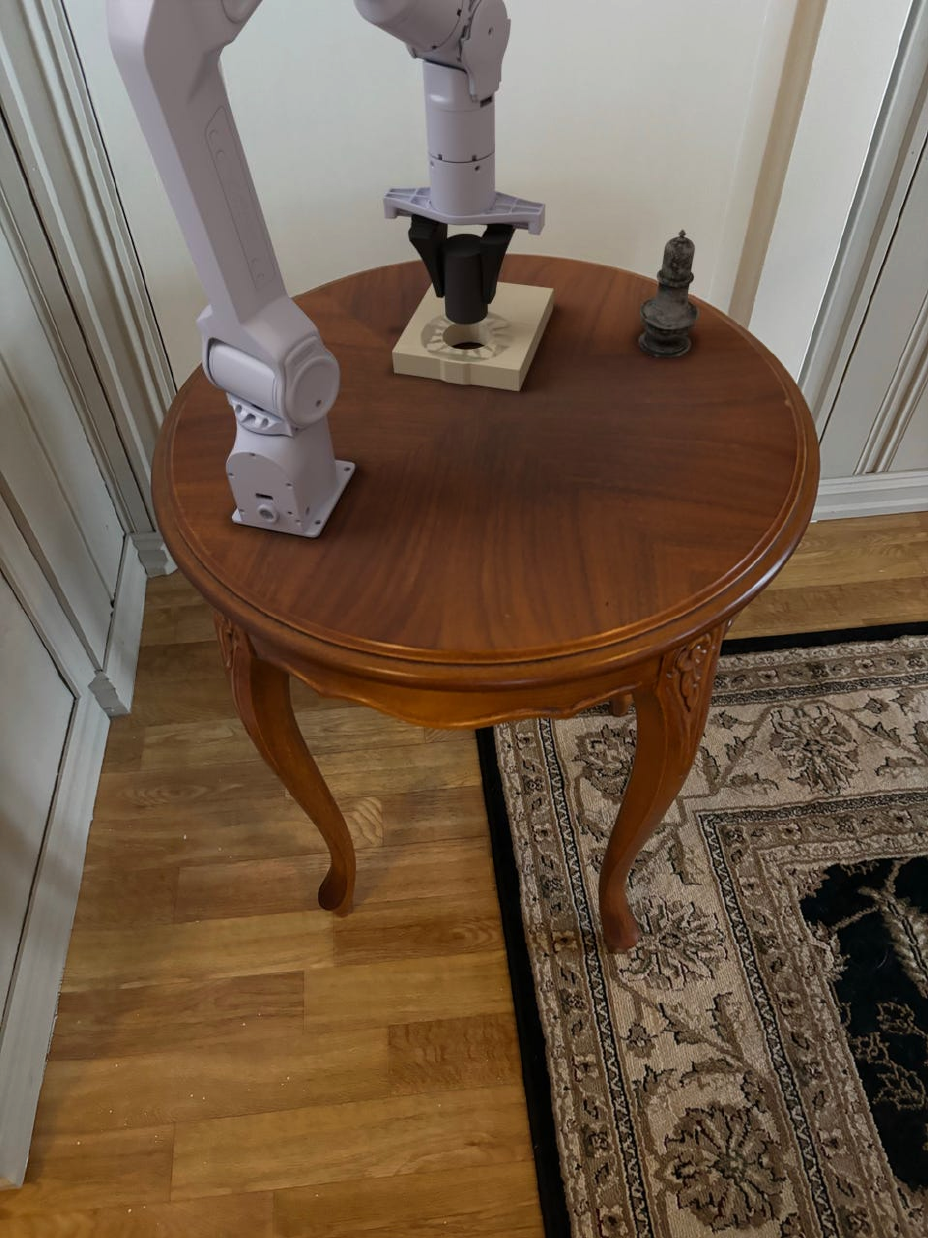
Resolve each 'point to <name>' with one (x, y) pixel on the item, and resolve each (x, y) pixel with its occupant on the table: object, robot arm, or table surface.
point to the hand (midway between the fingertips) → (466, 295)
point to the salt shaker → (671, 303)
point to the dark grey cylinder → (463, 279)
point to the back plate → (476, 339)
